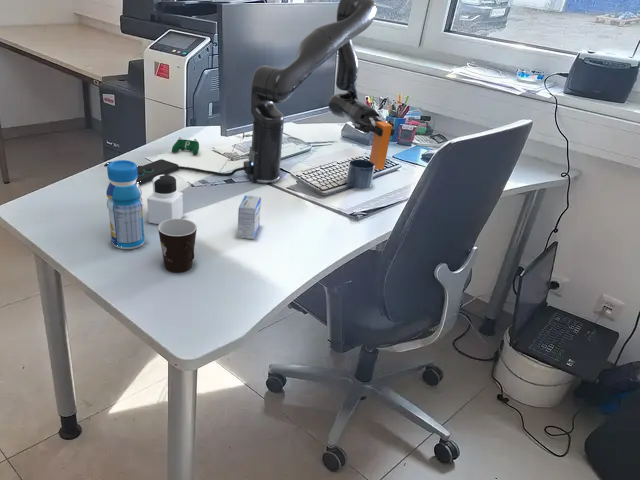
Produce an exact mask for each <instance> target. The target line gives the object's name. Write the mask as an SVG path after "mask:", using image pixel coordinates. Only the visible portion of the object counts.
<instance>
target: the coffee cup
mask: <svg viewBox="0 0 640 480" xmlns="http://www.w3.org/2000/svg"><path fill="white" fill-rule="evenodd" d="M348 163H349V164H348V169H347V174H346V175H347V176H346V185H347V186H349V187H351V188H353V189H359V190H366V189H370V188H371V187H372V184H373V178H374V173H375V169H374V168H375V164H374V163H373V162H370V160H366V159H352V160H350V161H349V162H348Z"/></svg>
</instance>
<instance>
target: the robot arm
mask: <svg viewBox="0 0 640 480" xmlns="http://www.w3.org/2000/svg"><path fill="white" fill-rule="evenodd" d="M377 12H378V6H377V3H376V2H375V0H339V2H338V4H337V9H336V21H335V22H330V23H326V24H322V25H320V26H318V27H316V28H315V29H313V30H312V31H311V32H309V33H308V34H307V35H306V36H305V37H304V38H303V39H302V40H301V41H300V43H299V44H298V48H297V51H296V59H295V60H294V61H292V63H291V64H289V65H288V66H286V67H284V68H280V67H279V68H278V67H274V66H270V65H260V66H259V67H257V68H256V70H255V71H254V73H253V75H252V79H251V84H250V85H251V87H250V112H251V116H252V133H251V146H249V150H248V151H249V153H248V155H249V156H248V160H247V161H243V165H242V167H238V168H235V169H233V170H232V171H231V172H220V171H219V172H218V171H213V170H208V169H202V168H195V167H191V166H181V165H178V170H185V171H193V172H197V173H202V174H207V175H208V174H209V175H214V176H220V177H229V176H234V174H236V172H237V173H238V172H240V171H244V173H245V175H247V176H248V178H249V179H250V180H251V182H252V183H258V184H265V185H267V184H275V183H277V182H279V181H280V175H281V173H280V172H281V161H282V160H281V159H282V146H283V136H284V125H285V117H284V116H285V115H284V114H283V113H282V112H281V111H280V110H279V109H278V108H277V106H276V105H275V104H282V103H284V102H286V101H287V100H288V99H290V97H291V96H292V95H293V94H294V93H295V92H296V91H297V90H298V89H299V87H300V86H301V85H302V84H303V83H304V82H305V81H306V80H307V79H308V78H309V77H310V76H311V75H312V74H314V72H315V71H316V70H317V69H318V68H319V67H320V66H322V65H324V64H325V63H326V62H327V61H328V60H329V59H330V58H331V57H332V56H333V55H334V54H335V53H337V56H338V58H337V69H336V79H335V85H336V88H337V89H338V90H341V91H346V92H341V93H336V94H333V95H332V96H331V97H329V100H328V104H327V105H328V110H329V111H330V113H331V114H332V115H333V116H335V117H338V118H341V119H346V120H348V121H349V122H351V123H352V125H354V130H357V131H361V132H363V133H366V134H369V133H371V134H374V133H375V134H377V135H378V136H382V135H383V129H382V128H380V127H379V126H377V125H376V122H382V121H386V122H387V123H389V124H390V125H392V129H391V134H390V137H393V136H394V135H395V131H396V129H395V128H394V127H395V120H394V119H393V118H389V119H388V120H385V119H384V118H383V117H381V116H380V113H379V112H378V110H377V109H375V108H373V107H372V106H371V105H368V104H366V103H364V102H363V101H360V99H359V95H358V94H359V93H358V84H357V82H358V74H359V58H358V55H357V52H356V49H355V46H354V42H353V39H354V38H355V37H357V36H358V35H360V34H362V33H363V32H364V31H366V30H367V29H368V28H369V27H370V26H371V25H372V23H373V22H374V21H375V18H376V16H377ZM111 162H112V161H108V162H106V163H104V165H103V167H107V165H108V164H107V163H111ZM137 166H138V167H140V166H141V165H137ZM138 167H137V168H138Z"/></svg>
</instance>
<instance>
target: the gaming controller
mask: <svg viewBox="0 0 640 480" xmlns="http://www.w3.org/2000/svg"><path fill="white" fill-rule="evenodd" d="M179 150H181V151H189V152H192V154H193V156H197V155H198V153H199V151H200V142H199V141H198V140H197V139H196V138H194V139H193V140H192V139H183V138H182V137H181V136H179V137H178V139H177V140H176V141H175V143H174V144H173V145H172V147H171V152H172V153H177V152H178V151H179Z"/></svg>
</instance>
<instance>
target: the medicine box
mask: <svg viewBox="0 0 640 480" xmlns="http://www.w3.org/2000/svg"><path fill="white" fill-rule="evenodd" d="M261 202H262V197H261V196H255V195H244V197H243V199H242V200H241V203H240V204H239V206H238V209H237V210H238V212H237V238H238V239H239V238H240V239H248V240H255V238H256V235H257V233H258V231H259V228H260V221H261V220H260V219H261V207H262V206H261V205H262V203H261Z"/></svg>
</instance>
